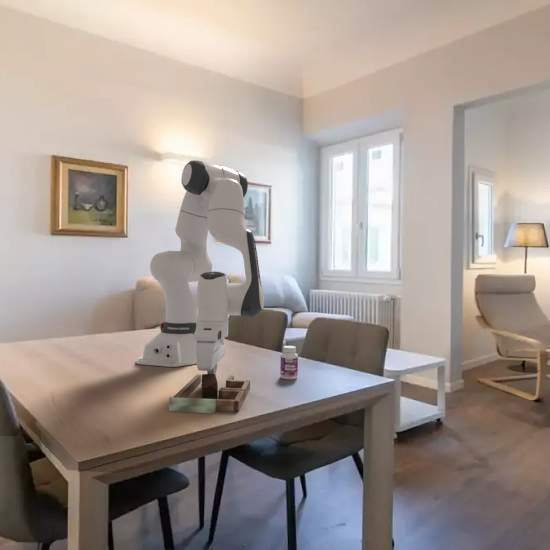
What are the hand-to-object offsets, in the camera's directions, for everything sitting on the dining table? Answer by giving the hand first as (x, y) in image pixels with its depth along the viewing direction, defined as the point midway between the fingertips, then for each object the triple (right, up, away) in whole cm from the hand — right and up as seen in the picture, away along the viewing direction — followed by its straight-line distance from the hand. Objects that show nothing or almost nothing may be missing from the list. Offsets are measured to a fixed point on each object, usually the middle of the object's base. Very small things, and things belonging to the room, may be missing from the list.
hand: (212, 379), depth 130 cm
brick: (0, -3, -7) cm, 8 cm away
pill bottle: (+22, -3, +14) cm, 26 cm away
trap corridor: (+2, -3, -8) cm, 8 cm away
